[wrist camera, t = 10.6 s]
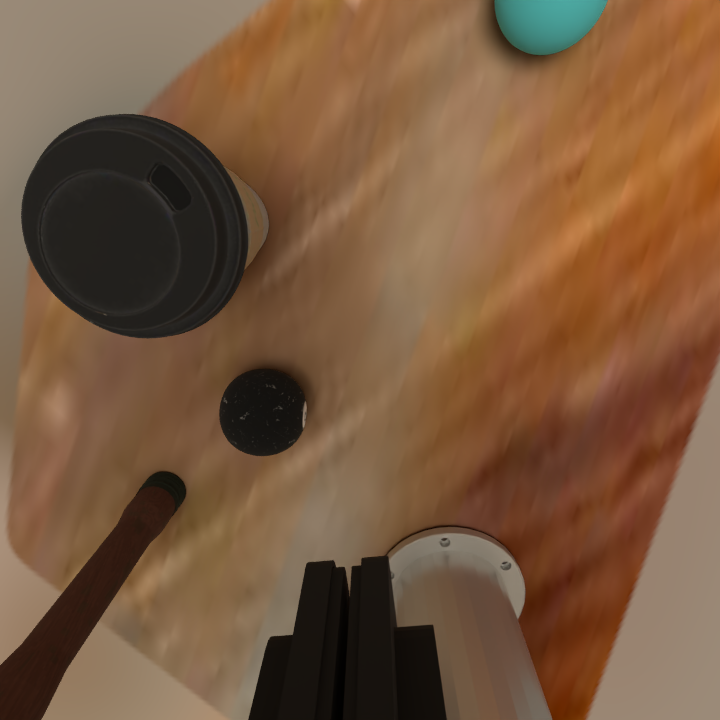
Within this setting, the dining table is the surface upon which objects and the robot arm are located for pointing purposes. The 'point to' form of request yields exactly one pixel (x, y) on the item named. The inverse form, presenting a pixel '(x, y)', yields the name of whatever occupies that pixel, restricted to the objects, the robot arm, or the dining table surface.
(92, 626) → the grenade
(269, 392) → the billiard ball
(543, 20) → the ball
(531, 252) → the dining table surface
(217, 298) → the coffee cup
